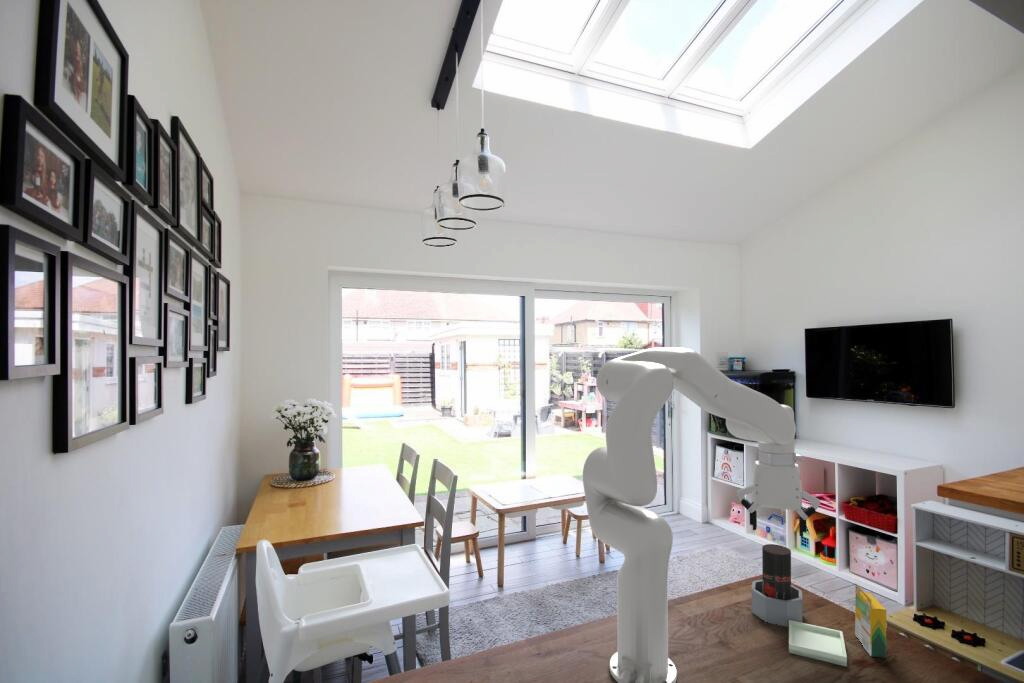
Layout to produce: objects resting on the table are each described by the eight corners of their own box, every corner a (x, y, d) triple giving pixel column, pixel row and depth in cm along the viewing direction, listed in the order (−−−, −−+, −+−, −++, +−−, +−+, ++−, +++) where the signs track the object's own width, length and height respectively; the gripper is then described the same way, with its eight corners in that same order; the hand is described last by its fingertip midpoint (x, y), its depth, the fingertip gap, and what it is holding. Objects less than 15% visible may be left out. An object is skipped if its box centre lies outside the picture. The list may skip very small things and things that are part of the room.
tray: (846, 666, 102) (846, 657, 102) (788, 652, 107) (788, 643, 107) (842, 639, 111) (842, 631, 111) (788, 627, 116) (788, 619, 116)
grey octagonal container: (802, 630, 115) (802, 605, 115) (750, 618, 120) (750, 594, 120) (801, 608, 124) (801, 584, 124) (753, 598, 129) (753, 575, 129)
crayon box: (887, 658, 105) (887, 600, 105) (870, 657, 105) (870, 599, 105) (870, 637, 112) (870, 583, 112) (854, 636, 113) (854, 582, 112)
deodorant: (796, 620, 119) (796, 554, 119) (769, 620, 119) (769, 554, 119) (783, 606, 125) (783, 544, 125) (758, 606, 125) (757, 544, 125)
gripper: (818, 457, 121) (819, 531, 121) (737, 451, 129) (738, 520, 129) (820, 465, 114) (821, 543, 115) (734, 458, 122) (735, 531, 123)
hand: (777, 531), depth 122 cm, fingers open, 9 cm apart
